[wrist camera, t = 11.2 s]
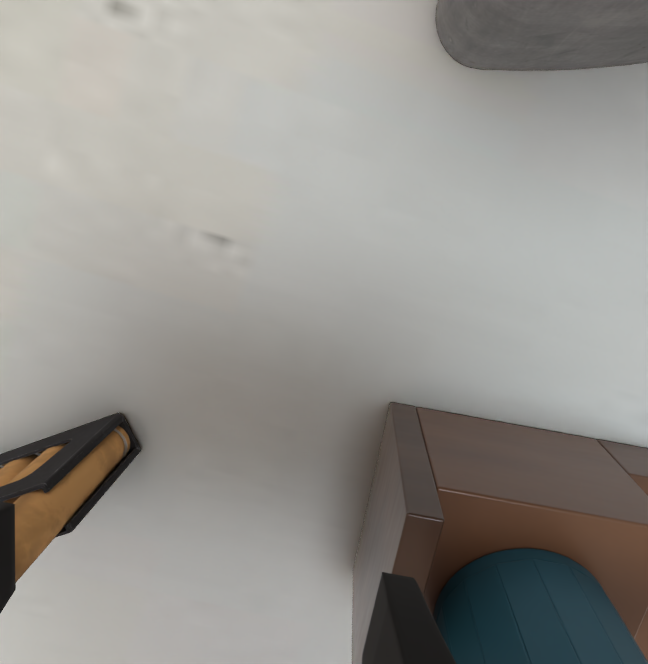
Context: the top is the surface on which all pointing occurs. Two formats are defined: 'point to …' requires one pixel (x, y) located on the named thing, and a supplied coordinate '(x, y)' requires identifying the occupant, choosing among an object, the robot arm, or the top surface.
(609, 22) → the hip flask
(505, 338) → the top surface
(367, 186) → the top surface
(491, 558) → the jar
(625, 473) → the step shelf
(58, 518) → the ammunition clip
